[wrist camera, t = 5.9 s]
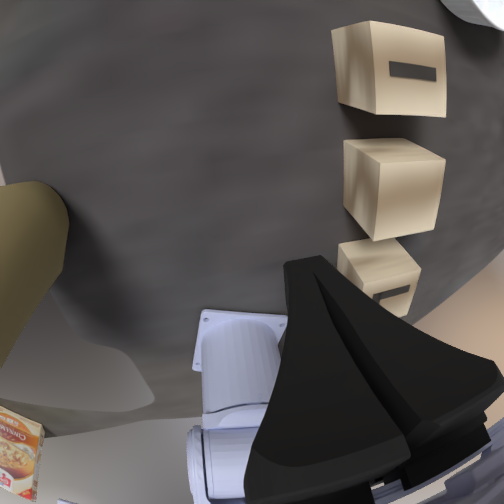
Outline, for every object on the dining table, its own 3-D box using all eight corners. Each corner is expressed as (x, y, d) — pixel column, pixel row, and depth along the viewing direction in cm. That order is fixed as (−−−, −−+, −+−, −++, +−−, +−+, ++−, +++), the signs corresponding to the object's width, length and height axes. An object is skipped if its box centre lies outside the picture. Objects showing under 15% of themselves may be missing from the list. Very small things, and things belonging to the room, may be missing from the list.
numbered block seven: (383, 277, 26) (408, 315, 22) (335, 289, 26) (355, 330, 21) (391, 233, 23) (422, 269, 19) (338, 243, 23) (364, 284, 19)
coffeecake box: (42, 423, 40) (31, 501, 24) (45, 432, 43) (37, 503, 28) (-14, 397, 35) (-31, 470, 19) (-7, 408, 38) (-21, 475, 22)
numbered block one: (400, 102, 16) (447, 117, 12) (337, 102, 16) (377, 114, 12) (397, 37, 14) (445, 36, 9) (330, 30, 13) (370, 20, 9)
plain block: (397, 197, 21) (433, 229, 17) (342, 205, 21) (373, 241, 17) (402, 137, 18) (445, 159, 14) (343, 140, 18) (380, 163, 14)
